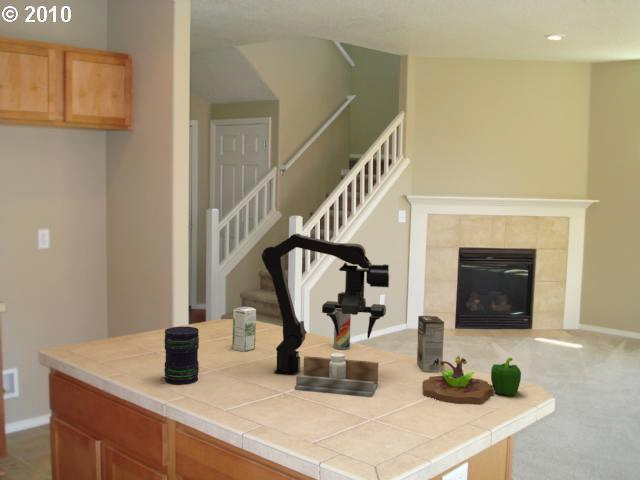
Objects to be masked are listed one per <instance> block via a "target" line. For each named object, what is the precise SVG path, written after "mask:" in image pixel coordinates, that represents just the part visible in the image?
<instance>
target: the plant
mask: <svg viewBox="0 0 640 480" xmlns="http://www.w3.org/2000/svg"><path fill="white" fill-rule="evenodd" d="M454 362H455V363H456V367H455V366H454V365H453V363H450V362H448V361H444V360H442V361H441V362H440V363H439V365H440V366H441V367H442V368H443V367H444V364H446V365H448V366H449V367H450V368H451V370H449V369H445V372H446V373H445V372H444V371H442V372H439V373H440V374H441V375H436V376H435V375H434V376H429V377H428V378H427V379H424V380H423V381H422V395H424V396H423V397H425V396H426V398H429V397H430V399H432V398H434V399H433V400H435V399H436V400H435V401H438V400H439V402H442V401H443V403H450V404H455V405H456V404H457V405H464V404H465V405H467V404H469V405H478V406H480V405H482V404H484V403H485V402H486V401H487V400H489V398H490V397H492V396H494V389H493V385H492V384H490V383H489V382H488V381H487V380H483V379H479V378H473V377H472V376H473V375H474V374H475V371H472V372H471V371H469V372H468V373H467V372H466V374H464V370H463V365H467V363H468V361H467V360H466V358H464V357H462V358H461V357H460V356H457V357H456V358H455V360H454Z"/></svg>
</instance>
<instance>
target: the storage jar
mask: <svg viewBox="0 0 640 480" xmlns="http://www.w3.org/2000/svg"><path fill="white" fill-rule="evenodd" d="M199 332H200V331H199V329H198V328H197V327H193V326H173V327H167V328H165V330H164V342H163V343H164V350H165V362H164V365H163V366H164V369H163V371H164V377H165V378H164V382H165V383H166V384H169V385H174V386H186V385H191V384H196V383H197V382H198V381H199V371H200V369H199V368H200V367H199V364H200V363H199V361H198V356H199V355H198V354H199V352H198V350H199V345H200V338H199Z"/></svg>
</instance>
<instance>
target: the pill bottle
mask: <svg viewBox="0 0 640 480" xmlns="http://www.w3.org/2000/svg"><path fill="white" fill-rule="evenodd" d="M330 358H331V361H330V363H329V378H337V379H346V362H345V361H344V360H345V359H346V356H345V354H344V353H342V352H335V353H334V352H333V353H331V354H330Z"/></svg>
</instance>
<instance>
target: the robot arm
mask: <svg viewBox="0 0 640 480" xmlns="http://www.w3.org/2000/svg"><path fill="white" fill-rule="evenodd" d="M364 247H365V246H363V245H362V244H360V243H348V242H347V243H346V242H344V243H343V242H342V243H340V242H339V243H338V242H334V241H329V240H326V239H325V240H324V239H320V238H316V237H312V236H308V235H307V236H306V235H303V234H301V233H294V234H292V235H291V236H289V237H288V238H286V239H285V240H284V241H282V242H280V243H279V244H273V245H270V246H268V247H266V248H264V250H263V251H262V253H261V259H262V263H263V264H264V266H265V269H266V270H267V272H268V274H269V275H270V277H271V280H272V284H273V288H274V292H275V295H276V299H277V302H278V307H279V310H280V315H281V319H282V337H283V338H282V339H283V340H281V342H280V343H279V344H278V345H277V346H276V348H275V350H276V370H274V373H275V374H280V375H282V374H283V375H293V376H295V375H297V373H298V372H299V371H300V370H301V356H300V355H299V354H300V352H299V351H298V349H299V348H301V346H302V344H303V343H304V341H305V339H306V335H307V330H306V329H305V321H304V320H300V321H299V319H298V318H297V316H296V312H295V308H294V302H293V299H292V297H291V293H290V288H289V284H288V280H287V277H286V272H285V271H286V257H285V255H287V254H288V253H289V252H291V251H293V250H294V249H296V248H298V249H302V250H308V251H311V252H316V253H319V254H325V255H328V256H331V257H335V258H337V259H339V260H341V261H343V262H344V263H343V264H342V266H340V267H339V271H340V272H345V287H344V289H345V290H344V292H345V295H344V298H343V301H342V305H339V304H338V301H332V300H328V301H327V300H326V301H325V302H324V303H323V304H322V308H321V313H323V314H326V316H327V317H329V318H330V319H331V321H332V323H333V325H334V326H335V329H336V333H337V336H339V335H340V318H339V311H342V313H343V314H351V315H353V316H356V315H359V313H364V314H370V315H369V317H368V326H367V339H370V337H371V334H372V331H373V329H374V326H375V324H376V321H377V320H380V319H381V318H384V317H385V315H386V314H387V306H386V305H385V304H380V303H379V304H378V303H372V305H370V306H367V304H366V303H367V302H366V298H365V283H366V284H368V285H369V287H370V288H372V287H373V288H389V287H390V273H389V272H390V271H389V270H390V269H389V267H390V266H389V264H385V263H384V264H372V262H371V260H369V258H368V257H367V255H366V249H365V248H364ZM358 267H360V268H358ZM365 274H366V275H365ZM365 277H366V282H365Z"/></svg>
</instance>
